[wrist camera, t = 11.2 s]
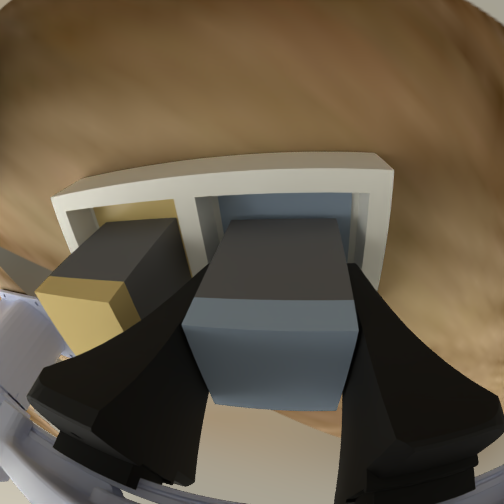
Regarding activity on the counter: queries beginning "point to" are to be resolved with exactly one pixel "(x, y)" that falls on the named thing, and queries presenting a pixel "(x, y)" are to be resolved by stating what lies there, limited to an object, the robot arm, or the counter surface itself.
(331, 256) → the blue plug
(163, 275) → the ochre plug
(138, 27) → the counter surface
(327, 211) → the rack
